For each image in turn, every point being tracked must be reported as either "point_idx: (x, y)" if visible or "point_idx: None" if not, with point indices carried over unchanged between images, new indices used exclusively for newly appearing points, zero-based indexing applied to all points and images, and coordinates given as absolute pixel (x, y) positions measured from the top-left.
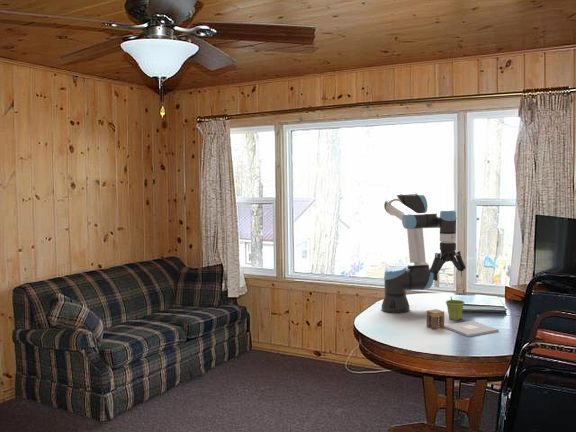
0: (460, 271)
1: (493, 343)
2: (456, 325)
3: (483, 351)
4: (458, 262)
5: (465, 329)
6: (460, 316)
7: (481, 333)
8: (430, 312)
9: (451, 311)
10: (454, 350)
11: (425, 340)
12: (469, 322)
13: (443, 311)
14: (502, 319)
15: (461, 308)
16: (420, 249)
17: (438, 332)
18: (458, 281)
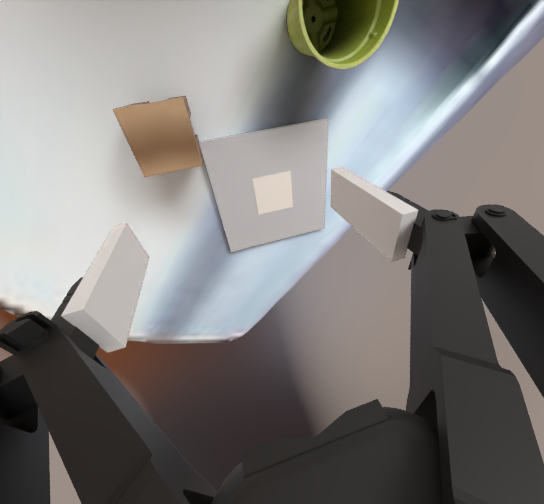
0: (396, 257)
1: (255, 292)
2: (245, 161)
3: (211, 324)
4: (524, 273)
5: (248, 210)
6: (323, 54)
7: (271, 240)
8: (131, 147)
9: (297, 31)
10: (154, 319)
11: (93, 256)
12: (305, 141)
13: (200, 162)
14: (423, 121)
15: (342, 57)
16: None
17: (160, 194)
18: (339, 202)
